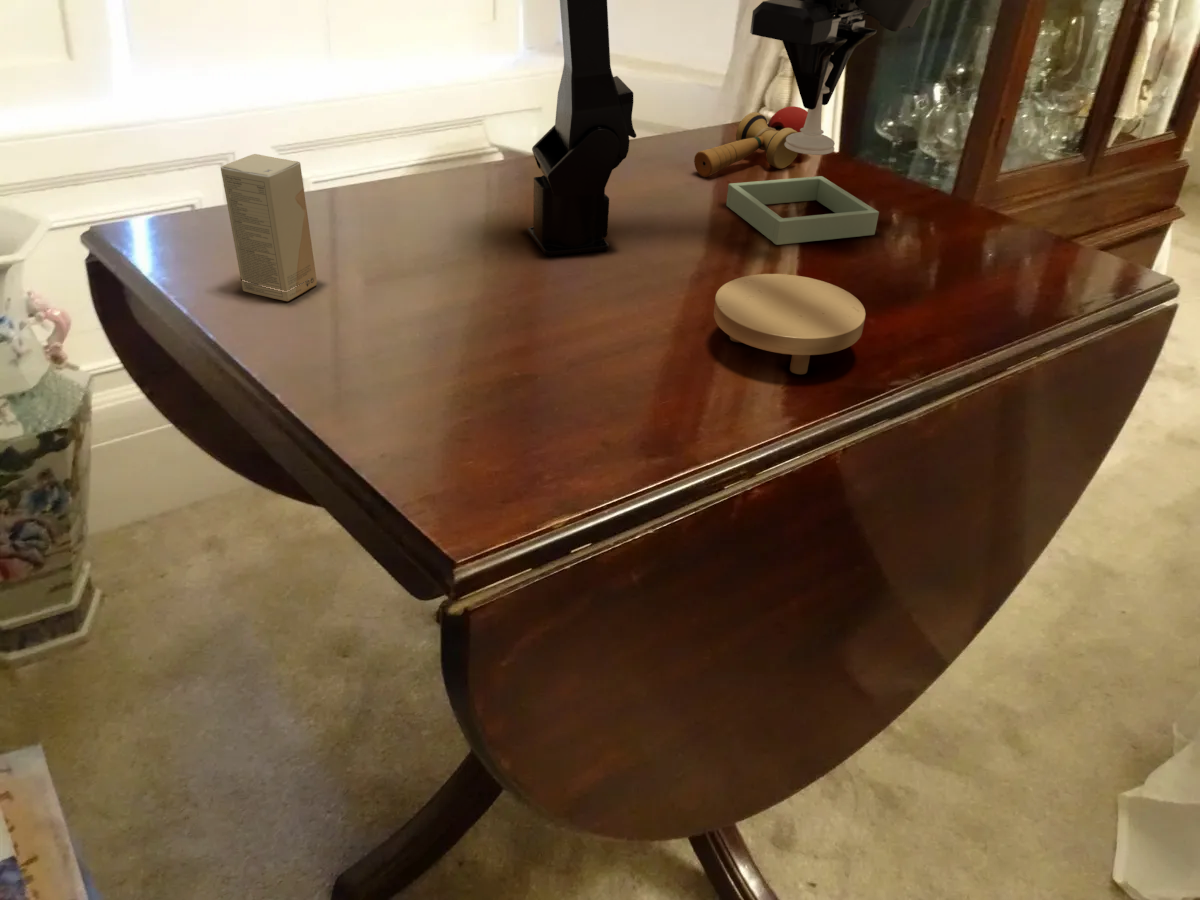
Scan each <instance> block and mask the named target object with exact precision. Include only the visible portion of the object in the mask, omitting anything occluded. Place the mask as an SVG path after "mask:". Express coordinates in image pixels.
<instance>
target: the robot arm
mask: <svg viewBox="0 0 1200 900" xmlns="http://www.w3.org/2000/svg"><path fill="white" fill-rule="evenodd" d="M931 5H932V0H763V1H762V2H761V3H759V4H758V5H757V7H755V8H754V9H752V15H751V22H750V31H749V33H750V34H751V35H753V36H758V37H763V38H767V39H773V40H775V41H781V42H782V44H783V46H784V49H785V52H786V55H787V57H788V60H789V63H790V65H791V69H792V72H793V75H794V79H795V82H796V85H797V89H798V92H799V95H800V100H801V103H802V105H803V108H804V109H806V110H807V109H808V110H809V109H811V110H813V109H815V108H816V105H817V102H818V99H819V96H820V93H821V89H822V85H823V82H824V78H825V74H826V71H827V67H828V63H829V62H831V63H832V64H833V68H832V70H831V72H830V74H829V76H828V78H827V80H826V82H825V86H826V87H828V88H829V91H830V92H829V93H825V94H823V97H822V106H826V105H829V102H830V100H831V98H832V96H833V94H834V91H835V90H836V88H837V85H838V83H839V82H840V78H841V77H842V74H843V72H844V70H845V68H846V65H847V64H848V62H849V60H850V58H851V56H852V55H853V52H854V50H855V49H856V48H857V47H858V46H859V45H861V44H862V43H864V42H865V41H866V40H867V39H869V38H871V37H873V36H874V35H876V33H877V32H878V29H876V28H870V27H865V24H866V19H864V18H863V16H870V17H872V18H873V19H875V20H876V21H878V22H879V25H880V26H881V27H882V28H884V29H886V30H888V31H891V32H894V33H896V32H897V33H898V32H900V31H901V30H902V29H905V28H909V29H911V28H913V27H914V25H915V23H916V21H917V19H918V17H919V16H920V14H921V12H922V10H923V9H927V8H929V7H930V6H931ZM559 8H560V22H561V23H560V25H561V35H562V36H561V37H562V50H563V68H562V73H561V78H560V82H559V87H558V91H557V98H556V109H555V110H556V111H555V121H554V125H553V126H552V127H551V128H550V129H549V130H548V131H547V132H546V133H545V134H544V135H543V136H542V137H541V138H540V139H539V140H538V141H537V142H536V143H535V144H534V145H533V146H532V148H531V151H532V155H533V158H534V160H535V162H536V165H537V167H538V169H539V170H540V172H541V173H542V175H541V176H534V177H533V202H532V203H533V204H532V205H533V209H532V210H533V212H532V213H533V214H532V216H533V217H532V219H533V220H532V221H533V222H532V226H529V227H527V234H528V235H529V236H530V237H531V239H532V240H533V242H534V243H536V245H537V246H538V247H539V248H540V250H541V252H542V253H543V254H544V255H545V256H558V255H569V254H579V253H589V252H590V253H591V252H599V251H607V250H609V243H608V242H607V240H606V239H604V238H607V237H608V231H609V229H608V228H609V212H610V211H609V210H610V197H609V196H608V195H607V194H605V193H606V186H607V185H608V182H609V180H610V177H611V175H612V172H613V170H614V169H616V168H617V167H619V165H621V163H622V162H623V161H624V160H625V159H626V158H627V156H628V153H629V150H630V137H631V138H633V139H635V138H637V133H636V131H635V129H634V126H633V109H634V92H633V90H631V88H630V87H629V86H627V84H626V83H625V82H624V81H623V80H622V79H621V78H620V77H619V76H618V75H616V76H614V75H613V72H612V66H611V50H610V33H609V32H610V31H609V12H608V9H609V8H608V0H559ZM833 52H834V54H833V55H831V54H832V53H833Z"/></svg>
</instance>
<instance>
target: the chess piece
mask: <svg viewBox="0 0 1200 900" xmlns="http://www.w3.org/2000/svg"><path fill="white" fill-rule="evenodd" d="M833 54H834V52H833V53H832V54H831V55H833ZM832 68H833V64H832V63H831V62H829V63H828V67H827V71H826V74H825V78H824V82H823V85H822V89H821V93H820V96H819V99H818V102H817V105H816V108H815V109H813V110H811V109H808V110H807V112H808V114H807V118H806V121H805V124H804V127H803V128H801V129H800V131H801V132H798V133H793V134H790V135H788V136H787V137H786V142H785V144H784V145H785V147H786V148H787V149H789V150H791V151H794V152H798V153H802V154H801V155H809V156H810V155H811V156H821V155H822V156H824V155H829V154H832V153H833V152H834V151H835V147H834V146H835V143H836V142H835V141H834V140H833V139H832V138H831V137H829V136H827V135H824V130H823V129H822V111H823V105H822V97H823V94H825V93H829V92H830V91H829V88H828V87H826V86H825V82H826V80H827V78H828V76H829V74H830V72H831V70H832Z"/></svg>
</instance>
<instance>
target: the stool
mask: <svg viewBox="0 0 1200 900" xmlns="http://www.w3.org/2000/svg"><path fill="white" fill-rule="evenodd" d="M714 297H715V298H714V306H713V319H714V322H715V324H716V325H717V326H718V328H719V329H720V330H722V331H723V333H725V334H726V335H727V336H729V339H730V341H731V342H734V343H739V344H740V343H742V344H744V345H747V346H750V347H752V348H756V349H759V350H762V351H766V352H770V353H776V354H782V355H791V358H790V363H789V371H790V372H791V373H792V374H795V375H805V374H807V373H808V370H809V364H810V359H811V356H818V355H827V354H832V353H837V352H840V351H842V350H845V349H848V348H849V347H852V346H854V345H855V344H856V343H857V342H858V341H859V340H860V339H861V337H862V334H863V330H864V326H865V321H866V316H867V314H866V309H865V307H864V304H863V303H862V302H861V301H860V300H859V299H858V298H857V297H856V296H855V295H853V294H852V293H851V292H849V291H848V290H845V289H843V288H842V287H839V286H837V285H835V284H832V283H829V282H827V281H823V280H820V279H816V278H812V277H808V276H804V275H803V276H801V275H795V274H787V273H761V274H751V275H745V276H741V277H737V278H734V279H732V280H729V281H728V282H726V283H724V284H722V286H720V287H719V289H718V290H717V291H716V293H715V296H714Z"/></svg>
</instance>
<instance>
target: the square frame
mask: <svg viewBox="0 0 1200 900" xmlns="http://www.w3.org/2000/svg"><path fill="white" fill-rule="evenodd" d="M726 194H727V195H726V202H725V203H726V204H725V206H726V207H727V208H728V209H730V210H731V211H732V212H734V213H735V214H736V215H737V216H739V217H740V218H741V219H743V220H744V221H745V222H747V223H748V224H749V225H750V226H751V227H753V228H754V229H755V230H756V231H758V232H759V233H761V234H762V235H764V237H765V238H767V239H768V240H770V242H772V243H773V244H774V245H776V246H780V245H790V244H799V243H808V242H810V243H811V242H819V241H829V240H837V239H848V238H856V237H857V238H858V237H868V236H875V234H876V230H877V226H878V225H877V224H878V220H879V214H880V211H878V210H876V209H875V208H874V207H872V206H870V205H868V204H867V203H865V202H864V201H863V200H861V199H860V198H858V197H856V196H854V195H853V194H851V193H850V192H848V191H847V190H845V189H844V188H842V187H840V186H838V185H837V184H836V183H834V182H832V181H830V180H829V179H827V178H826V177H824V176H823V175H817V176H816V175H815V176H805V177H804V176H803V177H795V178H794V177H793V178H781V179H770V180H769V179H768V180H757V181H745V182H731V183H728V185H727V193H726ZM810 201H816V202H818V203H819V204H820V205H822V206H824V207H826V209H828V210H830V211H831V212H832V213H824V214H812V215H803V216H802V215H801V216H792V217H791V216H790V217H781V216H780V215H779V214H777V213H776V212H775V211H774V210H772V209H771V208H769V207H768V206H767V205H777V204H778V205H779V204H788V203H789V204H790V203H798V202H799V203H800V202H801V203H802V202H810Z"/></svg>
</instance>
